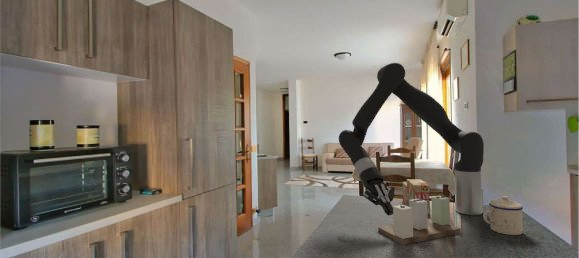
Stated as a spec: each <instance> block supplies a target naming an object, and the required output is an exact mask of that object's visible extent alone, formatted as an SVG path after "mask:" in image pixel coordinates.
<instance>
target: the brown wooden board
mask: <svg viewBox="0 0 579 258" xmlns="http://www.w3.org/2000/svg"><path fill="white" fill-rule="evenodd" d="M377 227H378V228H377V229H378V230H377V232H378V233H381V234H382V235H384V236H386V237H387V238H390V239H392V240H393V241H396V242H397V243H399V244H401V245H405V246H406V245H409V244H413V243H418V242H424V241H429V240H433V239H438V238H442V237H446V236H447V237H448V236H452V235H458V234H461V233H462V232H461V231H462V230H461V227H457V226H455V225H451V223H450V224H447V225H439V224H436V223H433V222H432V217H429V218H428V228H425V229H420V230H418V229H416V228H413V237H410V238H405V239H402V238H400V237H398V236H396V235H394V224H388V225H383V226H377Z"/></svg>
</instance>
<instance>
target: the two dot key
mask: <svg viewBox="0 0 579 258" xmlns="http://www.w3.org/2000/svg"><path fill="white" fill-rule="evenodd" d="M430 198H431V200H430V202H431V203H430V204H431V218H432V222H433V223H436V224H439V225H447V224H450V225H451V212H450V211H451V206H450V197H446V196H445V195H434V196H431V197H430Z"/></svg>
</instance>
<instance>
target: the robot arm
mask: <svg viewBox="0 0 579 258" xmlns="http://www.w3.org/2000/svg"><path fill="white" fill-rule="evenodd" d="M405 77H406V69H405V67H404V65H402V64H401V63H399V62H391V63H388V64H386V65H384V66H382V67H381V68H379V70H378V71H377V75H376V79H377V81H378V83H377V85H376V87H375V89H374V90H373V91H372V93H371V94H370V96H369V97H368V98H367V99H366V101H365V102H364V103H363V104H362V106H361V107H360V108H359V110H358V111H357V113H356V114H355V116H354V118H353V120H352V122H351V123H352V126H353V130H350V129H344V130H342V131H341V132H340V133H339V135H338V143H339V145H340V146H341V148H342V149H343V151H344V152H345V154H347V156H348V157H349V160H350V161H351V164H353V167H354V169H355V172H356V174H357V176H358V178H359V180H360V182H361V183H362V186H363V187H364V192H363V193H362V197H363V198H364V199H366V200H368V201H369V202H370V203H372V204H374V205H375V206H380V207H382V210H383V212H384V213H385V214H386V215H387V216H392V215H393V205H392V201H393V200H394V196H395V187H394V186H391V187H390V186H388V185H387V183H386V182H385V181H384V178H383V175H382V174H381V172H380V171H379V168H378V167H377V165H376V164H375V162H374V161H373V160H372V158H371V157H370V155H369V153H368V152H367V150H366V149H365V148H364V147H363V143H364V142H365V139H366V135H367V131H368V129H369V128H370V126H371V125H372V123H373V121H374V120H375V118H376V117H377V115H378V113H379V112H380V110H381V109H382V107H383V106H384V104H385V103H386V101H387V100H388V99H389V97H390V96H391V95H392V94H393V95H394V96H396V98H398V99H399V100H401V102H402V103H403V104H405V106H406V107H407V108H409V109H410V111H412V112H413V113H414V114H415V115H416V116H417V117H418V118H419V119H421V121H422V122H424V123H425V124H426V125H427V126H428V127H430V128H431V129H432V130H433V131H435V132H436V133H437V135H439V136H440V137H441V138H442V139H443V140H444V141H445V142H446V144H447V145H448V146H449V147H450V148H451V149H452V150H453V151H455V152H457V153H459V155H460V156H459V157H460V158H459V160H458V161H457V162H454V196H455V198H454V200H455V201H454V203H455V204H454V205H455V212H457V213H460V214H463V215H467V216H468V215H469V216H480V215H482V214H483V213H484V189H483V188H482V166H483V164H484V148H485V146H484V145H485V144H484V139H483V137H482V135H481V134H479V133H478V132H475V131H463V130H462V129H460V128H459V127H458V126H456V125H455V124H454V123H453V122H452V121H451V119H450V118H449V116H448V113H447V112H446V109H445V108H444V106H443V105H442V104H441V103H440V102H438V101H437V100H436V99H435V98H434V97H433V96H431V95H430V94H428V93H427V92H424V91H423V90H421V89H419V88H417V87H415V86H413V85H411V84H410V83H409V82H408V81H407V80H406V79H405Z"/></svg>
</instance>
